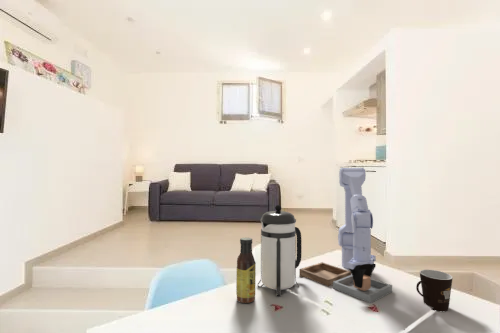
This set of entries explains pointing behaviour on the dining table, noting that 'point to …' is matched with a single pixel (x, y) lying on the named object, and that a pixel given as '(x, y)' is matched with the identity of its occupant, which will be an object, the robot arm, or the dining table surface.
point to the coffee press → (279, 250)
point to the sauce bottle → (245, 272)
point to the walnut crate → (324, 273)
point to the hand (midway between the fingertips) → (362, 285)
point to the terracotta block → (365, 283)
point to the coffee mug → (435, 289)
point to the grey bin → (369, 295)
